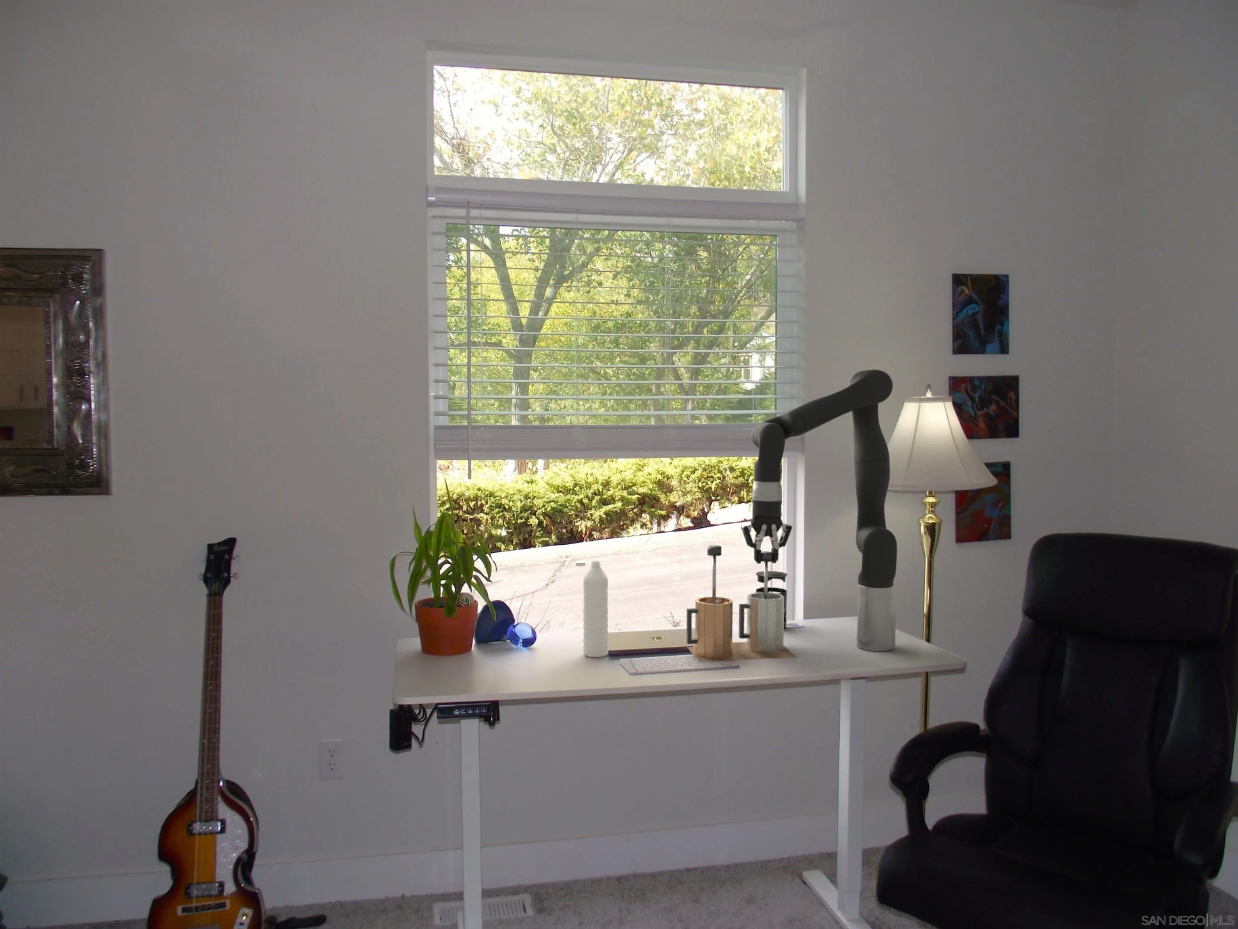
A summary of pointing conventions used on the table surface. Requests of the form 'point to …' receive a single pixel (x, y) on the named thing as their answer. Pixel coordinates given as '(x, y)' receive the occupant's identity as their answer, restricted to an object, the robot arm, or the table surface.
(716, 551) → the black knob plunger
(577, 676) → the table surface
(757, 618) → the steel carafe
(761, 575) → the french press
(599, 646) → the water bottle
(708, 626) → the copper carafe
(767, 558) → the steel plunger
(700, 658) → the board
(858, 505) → the robot arm
